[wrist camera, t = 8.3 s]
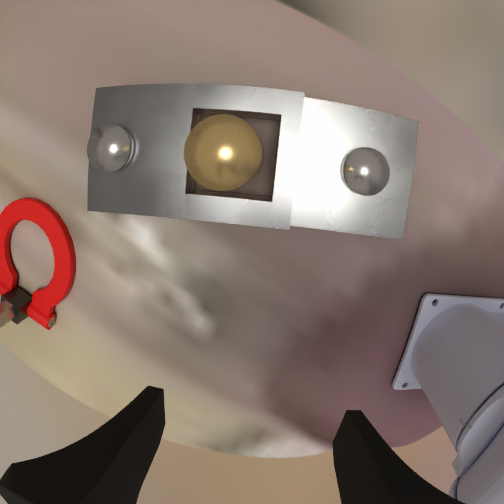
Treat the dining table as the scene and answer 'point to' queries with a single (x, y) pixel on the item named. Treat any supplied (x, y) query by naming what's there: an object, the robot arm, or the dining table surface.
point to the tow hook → (44, 300)
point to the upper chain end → (172, 152)
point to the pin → (223, 152)
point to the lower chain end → (349, 169)
